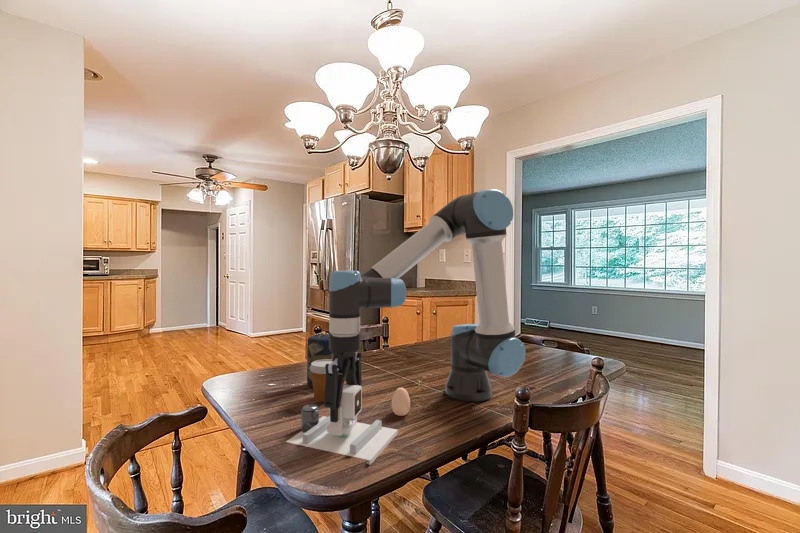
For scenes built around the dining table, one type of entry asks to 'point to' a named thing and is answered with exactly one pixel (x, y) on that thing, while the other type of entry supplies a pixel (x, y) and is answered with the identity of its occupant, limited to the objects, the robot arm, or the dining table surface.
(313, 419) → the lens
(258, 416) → the dining table surface
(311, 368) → the disposable coffee cup
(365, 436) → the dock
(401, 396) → the egg
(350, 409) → the white rounded plastic box
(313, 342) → the canister
